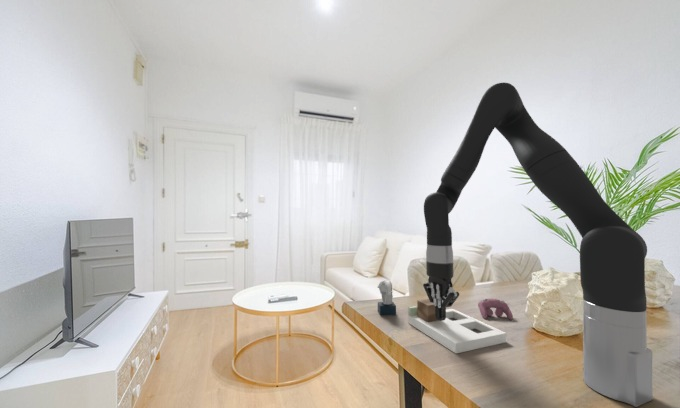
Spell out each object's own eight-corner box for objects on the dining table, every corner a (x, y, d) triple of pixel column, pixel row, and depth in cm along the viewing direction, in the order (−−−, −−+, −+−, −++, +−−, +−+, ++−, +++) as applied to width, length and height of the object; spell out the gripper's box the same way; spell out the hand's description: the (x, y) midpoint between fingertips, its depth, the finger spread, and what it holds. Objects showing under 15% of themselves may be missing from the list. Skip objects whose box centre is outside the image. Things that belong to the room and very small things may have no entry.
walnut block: (441, 320, 84) (441, 303, 84) (427, 322, 82) (427, 305, 83) (430, 314, 89) (430, 298, 89) (417, 316, 87) (417, 300, 87)
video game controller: (508, 321, 95) (504, 300, 98) (515, 320, 91) (510, 297, 94) (478, 319, 96) (475, 298, 99) (483, 318, 92) (480, 296, 95)
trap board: (506, 342, 76) (506, 323, 76) (455, 353, 69) (455, 333, 70) (452, 315, 95) (452, 301, 95) (408, 322, 88) (408, 307, 88)
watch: (391, 308, 101) (391, 278, 101) (397, 317, 93) (397, 284, 93) (376, 308, 100) (376, 278, 101) (380, 317, 92) (381, 284, 93)
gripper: (466, 262, 77) (468, 326, 76) (434, 256, 89) (435, 311, 88) (445, 264, 74) (447, 330, 73) (415, 257, 86) (415, 314, 86)
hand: (440, 319), depth 81 cm, fingers closed
